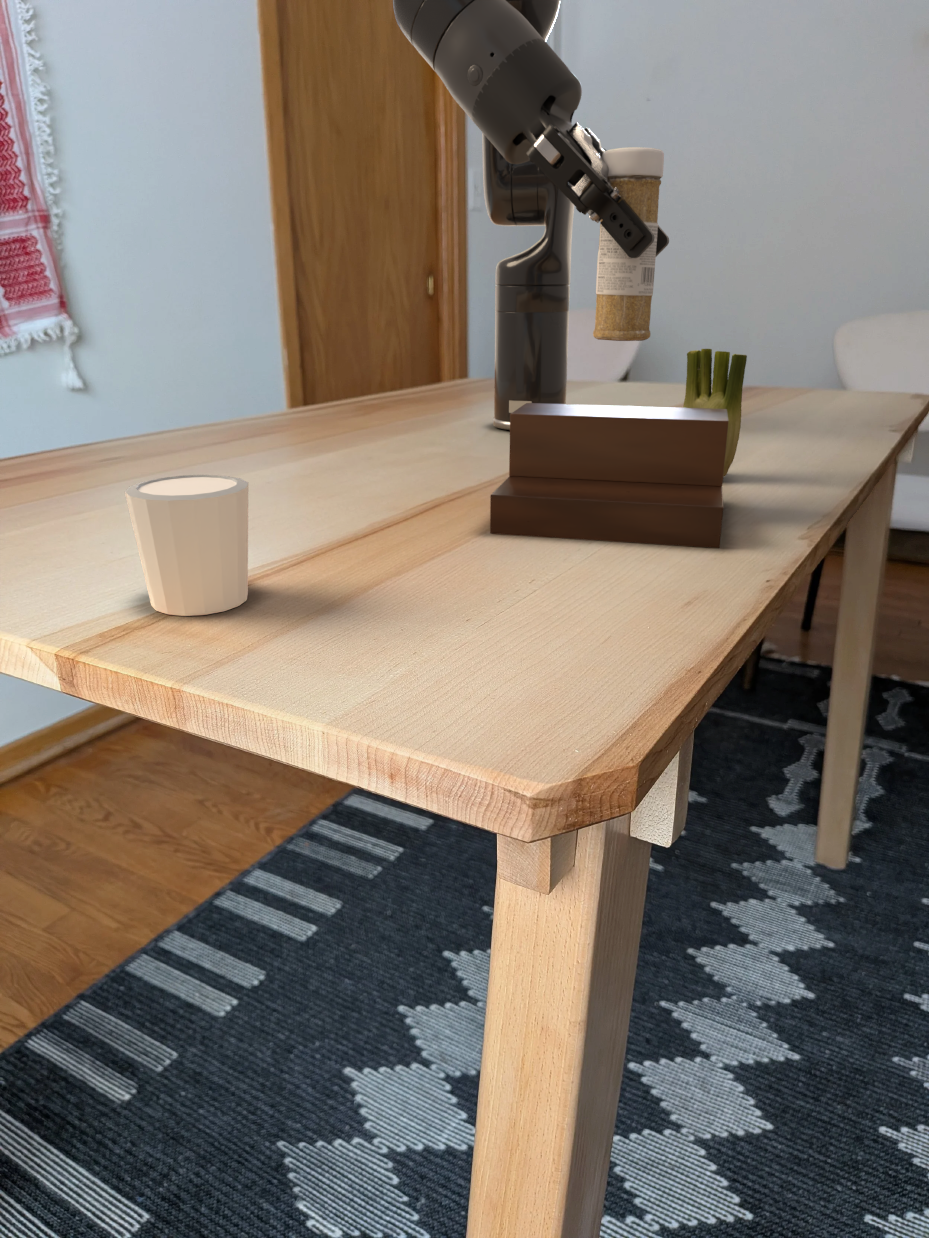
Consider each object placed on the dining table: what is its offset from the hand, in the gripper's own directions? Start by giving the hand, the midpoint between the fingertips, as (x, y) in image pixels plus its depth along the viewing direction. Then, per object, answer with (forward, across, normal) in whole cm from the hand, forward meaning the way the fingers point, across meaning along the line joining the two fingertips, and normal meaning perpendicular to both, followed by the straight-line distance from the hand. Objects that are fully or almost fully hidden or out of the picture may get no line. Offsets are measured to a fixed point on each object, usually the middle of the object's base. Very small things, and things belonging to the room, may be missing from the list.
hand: (652, 249), depth 69 cm
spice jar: (+3, 0, +6) cm, 7 cm away
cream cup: (+2, -33, +27) cm, 43 cm away
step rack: (+13, -4, +15) cm, 20 cm away
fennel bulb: (+16, +16, +12) cm, 26 cm away
